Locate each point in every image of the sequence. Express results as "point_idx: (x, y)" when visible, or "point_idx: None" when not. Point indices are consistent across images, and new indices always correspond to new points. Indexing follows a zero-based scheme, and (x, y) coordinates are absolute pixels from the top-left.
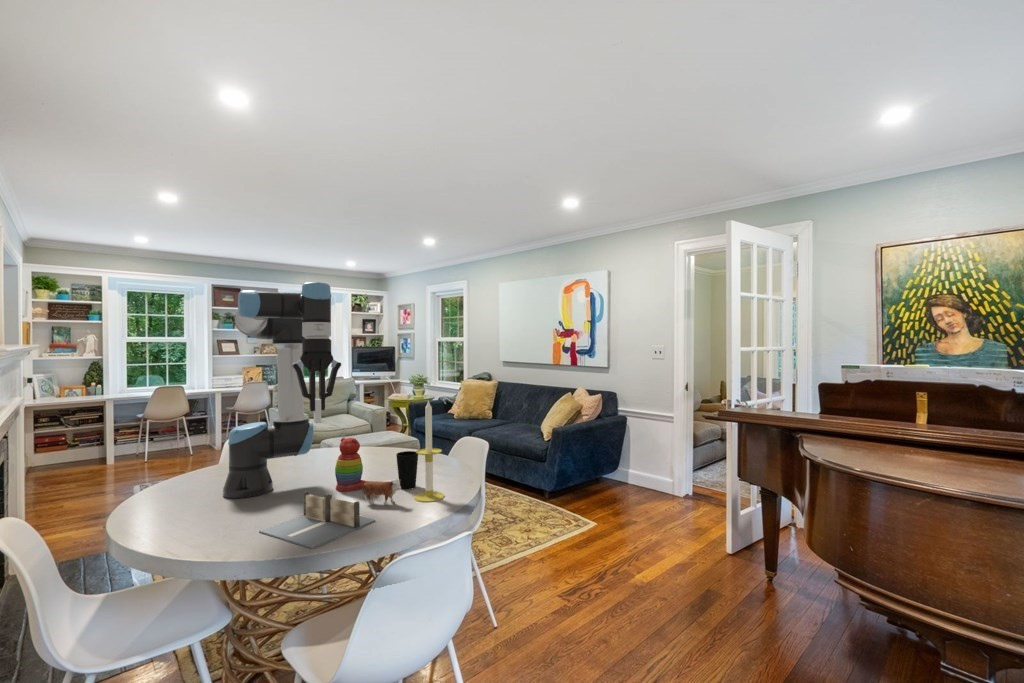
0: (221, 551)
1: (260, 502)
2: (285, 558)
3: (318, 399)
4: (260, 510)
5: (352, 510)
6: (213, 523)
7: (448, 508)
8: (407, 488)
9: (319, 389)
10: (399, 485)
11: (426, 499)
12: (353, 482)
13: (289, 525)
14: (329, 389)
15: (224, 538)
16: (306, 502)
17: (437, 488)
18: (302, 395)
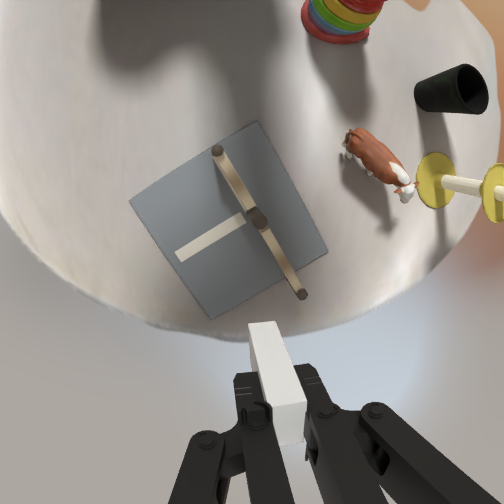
0: (83, 259)
1: (142, 18)
2: (173, 330)
3: (289, 440)
4: (136, 67)
5: (291, 285)
6: (60, 111)
7: (434, 252)
8: (424, 109)
9: (323, 465)
10: (408, 200)
11: (429, 195)
12: (340, 35)
13: (180, 198)
14: (373, 472)
15: (79, 201)
16: (216, 159)
17: (460, 142)
18: (190, 443)
